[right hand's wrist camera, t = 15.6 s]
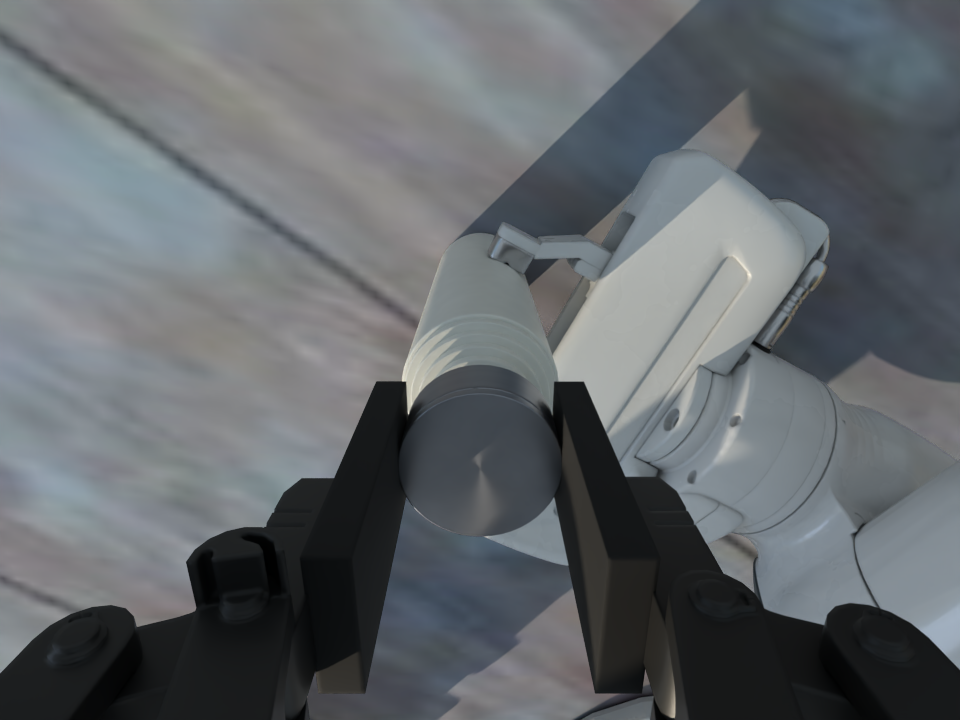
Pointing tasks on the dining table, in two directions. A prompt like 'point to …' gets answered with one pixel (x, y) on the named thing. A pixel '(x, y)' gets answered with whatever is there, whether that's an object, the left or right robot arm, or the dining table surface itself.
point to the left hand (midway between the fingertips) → (462, 298)
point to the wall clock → (626, 711)
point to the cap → (480, 452)
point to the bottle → (479, 321)
